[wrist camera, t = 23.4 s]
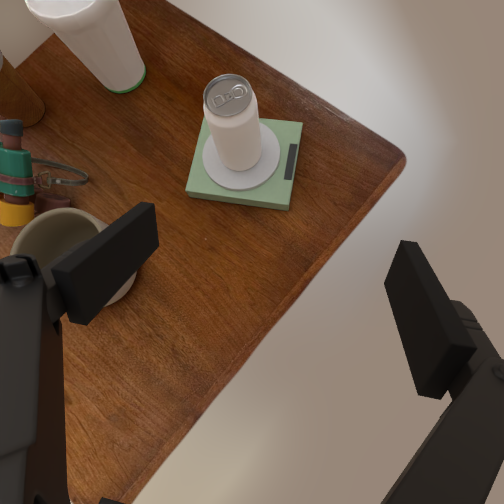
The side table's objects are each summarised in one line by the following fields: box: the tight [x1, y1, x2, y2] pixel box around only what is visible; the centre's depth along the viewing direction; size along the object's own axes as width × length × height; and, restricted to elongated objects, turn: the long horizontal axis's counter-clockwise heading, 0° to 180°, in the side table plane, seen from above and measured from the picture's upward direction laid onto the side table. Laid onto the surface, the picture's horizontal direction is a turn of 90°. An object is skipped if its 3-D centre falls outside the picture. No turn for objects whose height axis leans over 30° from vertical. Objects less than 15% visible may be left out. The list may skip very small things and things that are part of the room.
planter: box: [10, 208, 137, 307], centre depth 40 cm, size 12×12×11 cm
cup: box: [25, 0, 146, 93], centre depth 47 cm, size 12×12×15 cm
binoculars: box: [0, 119, 88, 226], centre depth 43 cm, size 14×14×15 cm
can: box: [203, 74, 262, 171], centre depth 39 cm, size 6×6×12 cm
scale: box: [185, 115, 303, 211], centre depth 46 cm, size 16×14×3 cm
